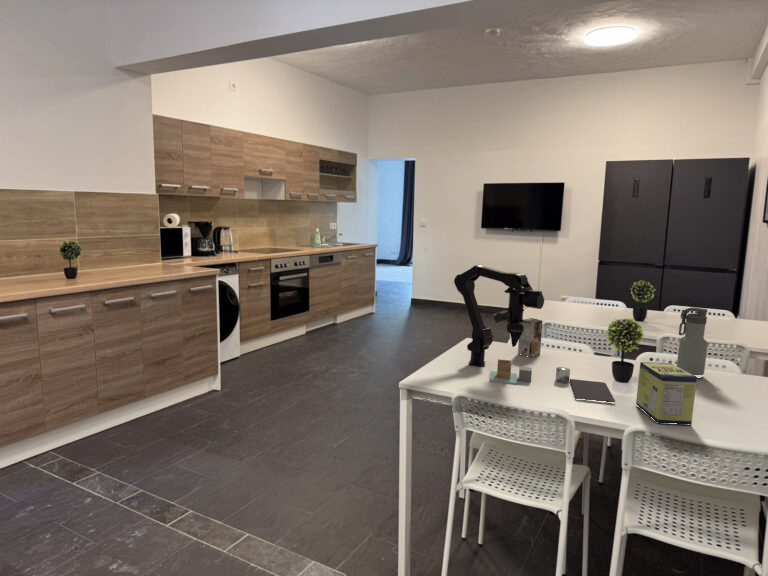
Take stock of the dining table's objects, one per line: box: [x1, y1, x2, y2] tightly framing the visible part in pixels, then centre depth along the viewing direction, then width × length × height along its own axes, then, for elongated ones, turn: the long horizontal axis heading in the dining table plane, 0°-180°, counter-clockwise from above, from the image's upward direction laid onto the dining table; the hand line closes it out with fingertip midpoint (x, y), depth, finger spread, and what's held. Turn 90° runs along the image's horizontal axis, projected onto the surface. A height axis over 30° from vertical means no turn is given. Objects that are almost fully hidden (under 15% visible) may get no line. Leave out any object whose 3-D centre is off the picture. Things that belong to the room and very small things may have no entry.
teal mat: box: [489, 370, 518, 385], centre depth 195 cm, size 12×10×1 cm
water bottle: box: [676, 306, 709, 375], centre depth 204 cm, size 10×10×28 cm
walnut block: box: [496, 358, 512, 379], centre depth 194 cm, size 5×5×6 cm
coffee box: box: [517, 317, 543, 358], centre depth 229 cm, size 9×6×16 cm
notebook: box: [569, 378, 616, 403], centre depth 182 cm, size 13×2×21 cm
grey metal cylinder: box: [554, 366, 571, 384], centre depth 193 cm, size 5×5×5 cm
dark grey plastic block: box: [518, 366, 533, 383], centre depth 193 cm, size 4×4×4 cm
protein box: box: [635, 361, 698, 425], centre depth 161 cm, size 10×16×16 cm
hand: (513, 343), depth 200 cm, fingers open, 9 cm apart
